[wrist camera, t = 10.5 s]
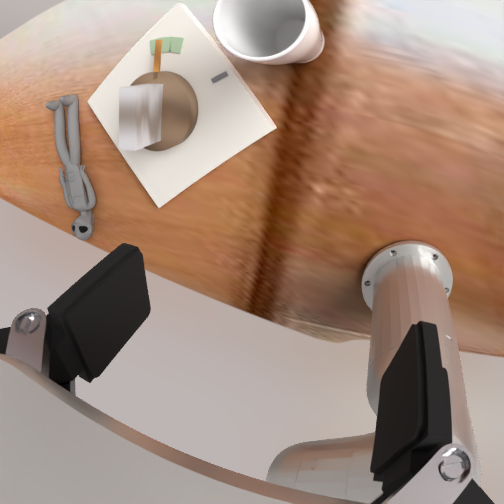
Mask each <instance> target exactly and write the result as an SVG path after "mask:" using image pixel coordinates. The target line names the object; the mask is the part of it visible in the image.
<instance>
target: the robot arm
mask: <svg viewBox="0 0 504 504" xmlns="http://www.w3.org/2000/svg"><path fill="white" fill-rule="evenodd" d="M392 250H394V251H392ZM434 254H435V255H434ZM361 285H362V294H363V298H364V300H365V302H366V304H367V306H368V307H369V308H370V309H371V310H372V324H371V340H370V353H369V365H368V376H367V397H368V401H369V404H370V406H371V408H372V409H373V411H374V413H375V414H376V415H377V422H376V431H375V432H374V433H369V434H366V435H360V436H352V437H344V438H336V439H327V440H318V441H310V442H303V443H299V444H296V445H293V446H290V447H288V448H286V449H285V450H283V451H282V452H281V453H280V454H278V455H277V456H276V458H275V459H274V460H273V462H272V464H271V466H270V468H269V470H268V474H267V477H266V482H265V481H262V480H259V479H255V478H252V477H249V476H246V475H242V474H239V473H236V472H233V471H230V470H227V469H225V468H222V467H219V466H216V465H214V464H211V463H208V462H206V461H203V460H201V459H198V458H195V457H193V456H190V455H188V454H186V453H183V452H181V451H179V450H176V449H174V448H172V447H169V446H167V445H165V444H163V443H161V442H159V441H156V440H154V439H152V438H150V437H148V436H146V435H144V434H142V433H140V432H138V431H136V430H134V429H132V428H130V427H128V426H127V425H125V424H123V423H121V422H119V421H117V420H115V419H114V418H112V417H110V416H108V415H106V414H105V413H103V412H101V411H100V410H98V409H96V408H94V407H92V406H91V405H89V404H88V403H86V402H84V401H83V400H81V399H80V398H78V397H76V395H75V378H76V377H77V375H79V377H81V378H83V379H84V380H86V381H87V382H89V383H90V382H91V381H92V380H93V379H94V378H96V377H98V376H100V375H101V373H102V372H103V371H104V370H105V368H106V367H107V366H108V365H109V363H110V362H111V361H112V360H113V358H114V357H115V356H116V355H117V353H118V352H119V351H120V350H121V348H122V347H123V346H124V345H125V344H126V342H127V341H128V340H129V339H130V338H131V336H132V335H133V334H134V333H135V331H136V330H137V329H138V328H139V327H140V326H141V324H142V323H143V322H144V321H145V320H146V318H147V317H148V315H149V314H150V309H151V308H150V301H149V295H148V289H147V282H146V276H145V269H144V262H143V255H142V253H141V252H140V250H139V248H138V247H136V246H133V245H129V244H126V243H123V244H121V245H120V246H118V247H117V248H116V249H115V250H114V251H112V252H111V253H110V254H109V255H107V256H106V257H105V258H104V259H103V260H101V261H100V262H99V263H98V264H97V265H96V266H94V267H93V268H92V269H91V270H90V271H89V272H87V273H86V274H85V275H84V276H83V277H82V278H80V279H79V280H78V281H77V282H76V283H75V284H74V285H72V286H71V287H70V288H69V289H68V290H67V291H66V292H65V293H64V294H62V295H61V296H60V297H59V298H58V299H57V300H56V301H55V302H54V303H53V304H51V305H50V306H49V307H48V312H49V314H48V315H47V316H46V315H45V313H44V312H43V311H42V310H41V309H37V308H31V309H27V310H24V311H22V312H21V313H19V314H18V315H17V316H16V317H15V319H14V320H13V322H12V325H11V327H8V328H3V329H0V504H494V503H493V502H492V500H491V499H490V498H489V497H488V496H487V495H486V493H485V492H484V491H483V490H482V489H481V488H480V486H481V466H480V459H479V453H478V449H477V444H476V440H475V436H474V432H473V427H472V423H471V418H470V414H469V409H468V404H467V397H466V391H465V386H464V380H463V373H462V367H461V361H460V355H459V350H458V344H457V339H456V334H455V329H454V325H453V320H452V316H451V311H450V307H449V303H448V297H449V295H450V293H451V289H452V285H453V276H452V271H451V267H450V265H449V262H448V261H447V259H446V257H445V256H444V255H443V254H442V253H441V252H440V250H438V249H437V248H435V247H434V246H432V245H430V244H427V243H425V242H420V241H401V242H396V243H394V244H391V245H388V246H386V247H385V248H383V249H381V250H380V251H379V252H377V253H376V254H375V255H374V256H373V257H372V258H371V260H370V261H369V262H368V264H367V266H366V267H365V269H364V273H363V276H362V284H361Z"/></svg>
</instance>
